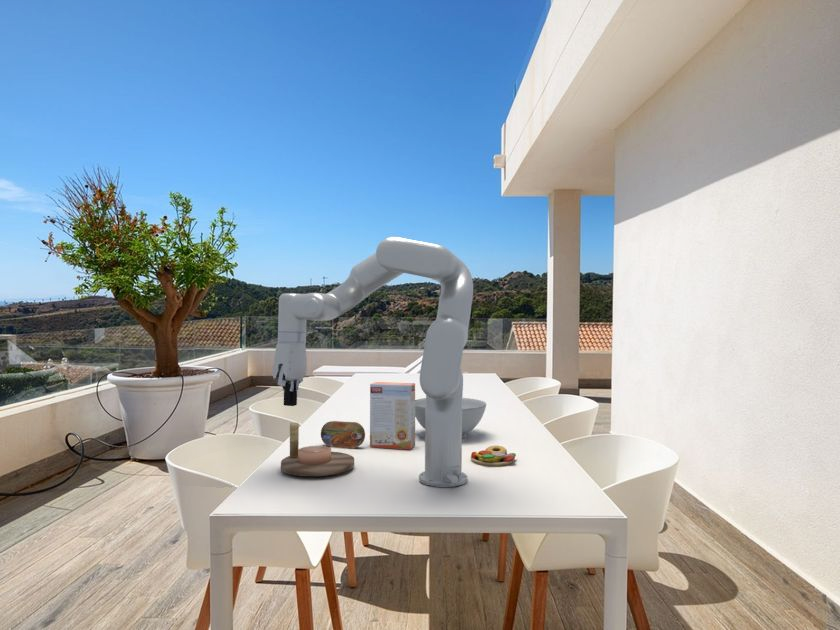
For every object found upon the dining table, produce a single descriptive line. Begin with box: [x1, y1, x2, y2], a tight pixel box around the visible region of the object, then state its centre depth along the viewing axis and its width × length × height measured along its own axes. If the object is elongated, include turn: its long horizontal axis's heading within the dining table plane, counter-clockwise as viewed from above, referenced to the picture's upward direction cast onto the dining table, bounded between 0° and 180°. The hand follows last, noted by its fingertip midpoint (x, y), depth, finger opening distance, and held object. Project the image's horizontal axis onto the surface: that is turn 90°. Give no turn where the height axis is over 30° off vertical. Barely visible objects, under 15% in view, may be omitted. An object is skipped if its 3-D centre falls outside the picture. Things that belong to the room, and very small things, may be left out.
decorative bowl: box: [415, 397, 487, 440], centre depth 191 cm, size 27×27×12 cm
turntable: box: [280, 422, 355, 477], centre depth 148 cm, size 20×20×11 cm
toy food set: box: [470, 445, 517, 467], centre depth 158 cm, size 13×13×3 cm
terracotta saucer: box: [298, 445, 332, 465], centre depth 148 cm, size 9×9×3 cm
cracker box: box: [369, 381, 416, 451], centre depth 175 cm, size 14×6×21 cm, turn 75°
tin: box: [320, 420, 366, 450], centre depth 175 cm, size 15×3×8 cm, turn 72°
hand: (290, 405), depth 147 cm, fingers closed
